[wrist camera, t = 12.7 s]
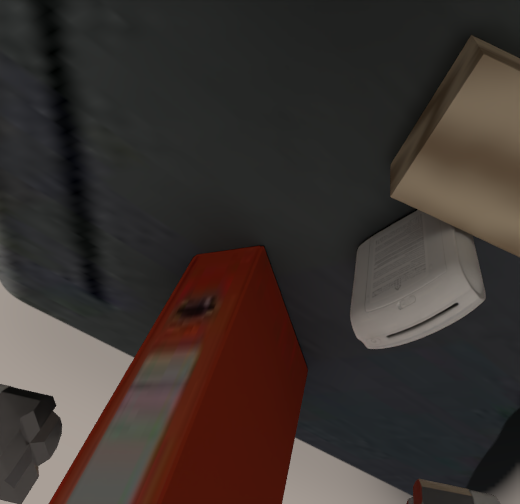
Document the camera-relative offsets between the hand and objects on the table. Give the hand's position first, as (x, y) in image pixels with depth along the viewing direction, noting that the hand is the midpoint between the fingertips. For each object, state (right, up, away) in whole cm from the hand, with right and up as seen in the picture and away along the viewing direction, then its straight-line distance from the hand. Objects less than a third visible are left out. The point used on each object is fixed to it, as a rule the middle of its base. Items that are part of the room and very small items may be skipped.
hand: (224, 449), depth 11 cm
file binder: (0, -2, +43) cm, 43 cm away
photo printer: (+14, +6, +34) cm, 37 cm away
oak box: (+19, +13, +27) cm, 36 cm away
